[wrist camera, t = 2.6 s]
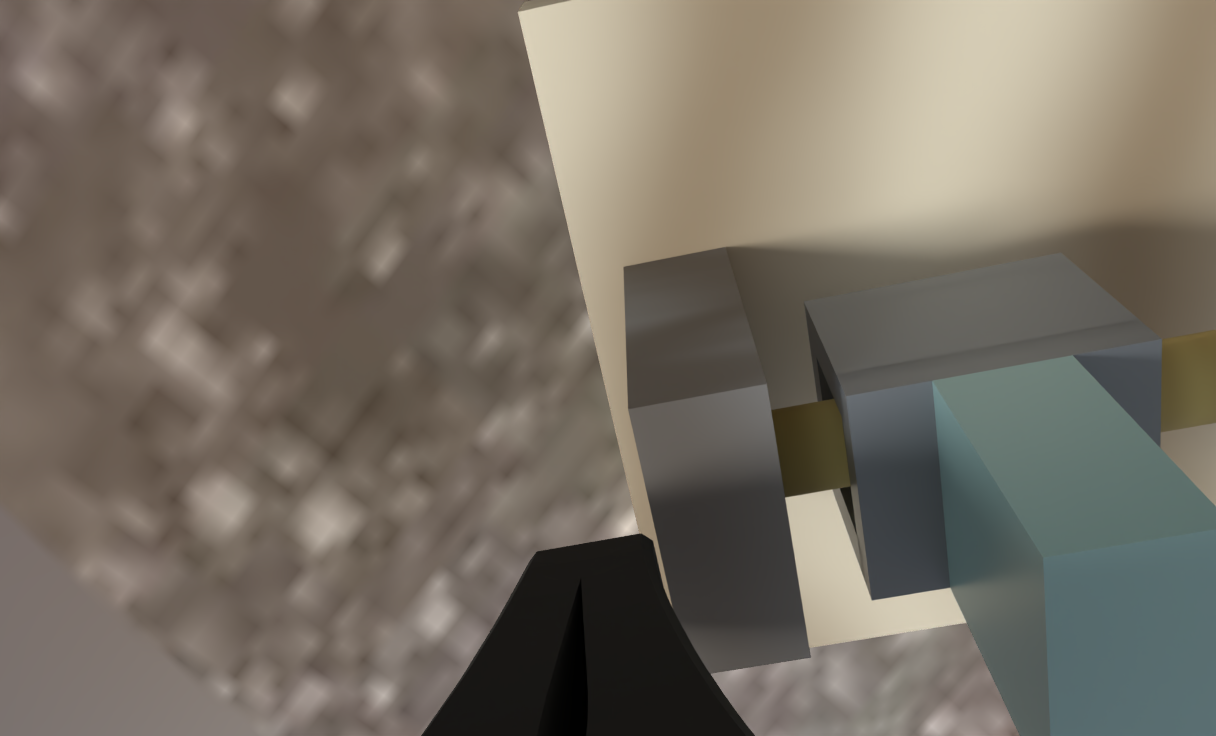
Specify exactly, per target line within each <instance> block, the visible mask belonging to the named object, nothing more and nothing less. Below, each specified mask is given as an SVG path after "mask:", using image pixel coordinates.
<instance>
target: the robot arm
mask: <svg viewBox="0 0 1216 736" xmlns="http://www.w3.org/2000/svg"><path fill="white" fill-rule="evenodd" d="M421 736H755V735H754V734H753V733H752V731H751V730H750V729H749V728H748V726H747V725H746V724H745V723H744V721H743V720H742V719H741V717H740V716H739V715H738V713H737V712H736V711H735V709H734V708H733V706H732V705H731V704H730V702H729V701H728V699H727V698H726V697H725V695H724V694H723V692H722V691H721V689H720V688H719V686H718V685H717V683H716V682H715V680H714V679H713V677H712V676H711V674H710V673H709V671H708V670H707V668H706V667H705V665H704V664H703V662H702V660H701V659H700V657H699V655H698V654H697V652H696V650H695V649H694V647H693V645H692V643H691V641H690V640H689V638H688V636H687V634H686V632H685V630H684V629H683V627H682V625H681V623H680V621H679V619H678V618H677V616H676V614H675V612H674V610H673V608H672V605H671V603H670V601H669V599H668V596H667V594H666V592H665V589H664V586H663V582H662V578H661V573H660V569H659V564H658V560H657V556H656V551H655V547H654V543H653V540H651V539H650V538H648V537H646V536H645V535H643V534H642V533H641V534H635V535H630V536H624V537H618V538H612V539H607V540H601V541H595V542H589V543H584V544H578V545H572V546H566V547H561V548H555V549H549V550H544V551H538V552H536V553H535V555H534V556H533V558H532V559H531V560H530V562H529V563H528V565H527V567H526V569H525V571H524V572H523V574H522V576H521V578H520V580H519V582H518V583H517V585H516V587H515V589H514V591H513V593H512V594H511V596H510V598H509V600H508V602H507V603H506V605H505V607H504V609H503V610H502V612H501V614H500V616H499V617H498V619H497V621H496V622H495V624H494V626H493V628H492V629H491V631H490V633H489V634H488V636H487V638H486V639H485V641H484V642H483V644H482V646H481V647H480V649H479V651H478V652H477V654H476V655H475V657H474V659H473V660H472V662H471V663H470V665H469V667H468V668H467V670H466V672H465V673H464V675H463V676H462V678H461V679H460V681H459V682H458V684H457V685H456V687H455V688H454V690H453V691H452V693H451V694H450V695H449V697H448V698H447V700H446V701H445V703H444V704H443V705H442V707H441V708H440V710H439V711H438V713H437V714H436V715H435V717H434V718H433V720H432V721H431V723H430V724H429V725H428V727H427V728H426V730H425V731H424V733H423V734H422V735H421Z"/></svg>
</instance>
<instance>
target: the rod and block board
mask: <svg viewBox="0 0 1216 736" xmlns="http://www.w3.org/2000/svg"><path fill="white" fill-rule="evenodd" d="M518 14H519V18H520V23H521V27H522V31H523V36H524V40H525V44H526V48H527V53H528V57H529V61H530V66H531V70H532V74H533V79H534V83H535V87H536V91H537V96H538V100H539V104H540V109H541V113H542V117H543V122H544V126H545V130H546V134H547V139H548V143H549V147H550V152H551V156H552V160H553V164H554V169H555V173H556V177H557V182H558V186H559V190H560V195H561V199H562V203H563V207H564V212H565V216H566V220H567V225H568V229H569V233H570V238H571V242H572V246H573V250H574V255H575V259H576V263H577V268H578V272H579V276H580V281H581V285H582V289H583V293H584V298H585V302H586V306H587V311H588V315H589V319H590V323H591V328H592V332H593V336H594V341H595V345H596V349H597V354H598V358H599V362H600V366H601V371H602V375H603V379H604V384H605V388H606V392H607V397H608V401H609V405H610V409H611V414H612V418H613V422H614V427H615V431H616V435H617V439H618V444H619V448H620V452H621V457H622V461H623V465H624V470H625V474H626V478H627V482H628V487H629V491H630V495H631V500H632V504H633V508H634V513H635V517H636V521H637V525H638V530H639V534H641V533H642V534H643V535H645V536H646V537H648V538H650V539H651V540H653V543H654V547H655V551H656V556H657V560H658V564H659V569H660V573H661V578H662V582H663V586H664V589H665V592H666V594H667V596H668V599H669V601H670V603H671V605H672V608H673V610H674V612H675V614H676V616H677V618H678V619H679V621H680V623H681V625H682V627H683V629H684V630H685V632H686V634H687V636H688V638H689V640H690V641H691V643H692V645H693V647H694V649H695V650H696V652H697V654H698V655H699V657H700V659H701V660H702V662H703V664H704V665H705V667H706V668H707V670H708V671H709V673H710V674H711V673H717V672H723V671H730V670H736V669H742V668H748V667H755V666H761V665H767V664H773V663H780V662H786V661H792V660H798V659H805V658H811V655H810V649H809V648H811V647H818V646H824V645H830V644H836V643H842V642H849V641H855V640H861V639H867V638H874V637H880V636H886V635H892V634H898V633H905V632H911V631H917V630H923V629H930V628H936V627H942V626H948V625H954V624H961V623H967V622H966V620H965V618H964V616H963V614H962V612H961V610H960V607H959V605H958V603H957V601H956V599H955V597H954V595H953V593H952V591H951V588H946V589H940V590H933V591H927V592H921V593H915V594H909V595H903V596H897V597H891V598H885V599H878V600H871V597H870V594H869V591H868V589H867V586H866V583H865V580H864V577H863V575H862V572H861V569H860V566H859V563H858V560H857V558H856V555H855V552H854V549H853V546H852V544H851V541H850V538H849V535H848V532H847V530H846V527H845V524H844V521H843V518H842V516H841V513H840V510H839V507H838V504H837V502H836V499H835V496H834V493H833V490H832V489H838V488H844V487H849V486H851V485H850V477H849V470H848V462H847V454H846V446H845V439H844V431H843V423H842V416H841V414H840V412H839V409H838V407H837V405H836V402H835V400H834V399H829V400H824V401H818V400H817V393H816V386H815V378H814V371H813V364H812V357H811V350H810V342H809V335H808V328H807V321H806V314H805V306H804V301H809V300H814V299H819V298H825V297H830V296H835V295H840V294H846V293H851V292H856V291H861V290H867V289H872V288H877V287H883V286H888V285H893V284H898V283H904V282H909V281H914V280H919V279H925V278H930V277H935V276H941V275H946V274H951V273H956V272H962V271H967V270H972V269H977V268H983V267H988V266H993V265H999V264H1004V263H1009V262H1014V261H1020V260H1025V259H1030V258H1035V257H1041V256H1046V255H1051V254H1057V253H1062V254H1063V255H1064V256H1066V257H1067V258H1068V259H1069V260H1070V261H1071V262H1073V263H1074V264H1075V265H1076V266H1077V267H1078V268H1080V269H1081V270H1082V271H1083V272H1084V273H1085V274H1087V275H1088V276H1089V277H1090V278H1091V279H1092V280H1094V281H1095V282H1096V283H1097V284H1098V285H1100V286H1101V287H1102V288H1103V289H1104V290H1105V291H1107V292H1108V293H1109V294H1110V295H1111V296H1112V297H1114V298H1115V299H1116V300H1117V301H1118V302H1119V303H1121V304H1122V305H1123V306H1124V307H1125V308H1126V309H1128V310H1129V311H1130V312H1131V313H1132V314H1133V315H1135V316H1136V317H1137V318H1138V319H1139V320H1140V321H1142V322H1143V323H1144V324H1145V325H1146V326H1147V327H1149V328H1150V329H1151V330H1152V331H1153V332H1154V333H1156V334H1157V335H1158V336H1159V337H1160V338H1161V339H1162V377H1161V445H1160V448H1161V449H1162V450H1163V451H1164V452H1165V453H1166V454H1167V456H1168V457H1169V458H1170V459H1171V460H1172V461H1173V462H1174V463H1175V464H1176V465H1177V466H1178V467H1179V468H1180V469H1181V470H1182V471H1183V472H1184V473H1185V475H1186V476H1187V477H1188V478H1189V479H1190V480H1191V481H1192V482H1193V483H1194V484H1195V485H1196V486H1197V487H1198V488H1199V489H1200V490H1201V491H1202V492H1203V494H1204V495H1205V496H1206V497H1207V498H1208V499H1209V500H1210V501H1211V502H1212V503H1213V504H1214V505H1215V506H1216V0H531V1H527V2H524V3H523V5H522V6H521V8H520V10H519V11H518Z"/></svg>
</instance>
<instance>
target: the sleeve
mask: <svg viewBox="0 0 1216 736" xmlns="http://www.w3.org/2000/svg"><path fill="white" fill-rule="evenodd" d="M804 306H805V314H806V321H807V328H808V335H809V342H810V350H811V357H812V364H813V371H814V378H815V386H816V393H817V400H818V401H824V400H829V399H834V400H835V402H836V405H837V407H838V409H839V412H840V414H841V416H842V423H843V431H844V439H845V446H846V454H847V462H848V470H849V477H850V485H851V486H849V487H844V488H838V489H832V490H833V493H834V496H835V499H836V502H837V504H838V507H839V510H840V513H841V516H842V518H843V521H844V524H845V527H846V530H847V532H848V535H849V538H850V541H851V544H852V546H853V549H854V552H855V555H856V558H857V560H858V563H859V566H860V569H861V572H862V575H863V577H864V580H865V583H866V586H867V589H868V591H869V594H870V597H871V600H878V599H885V598H891V597H897V596H903V595H909V594H915V593H921V592H927V591H933V590H940V589H946V588H951V591H952V593H953V595H954V597H955V599H956V601H957V603H958V605H959V607H960V610H961V612H962V614H963V616H964V618H965V620H966V622H967V624H968V627H969V629H970V631H971V633H972V635H973V637H974V639H975V641H976V644H977V646H978V648H979V650H980V652H981V654H982V656H983V658H984V661H985V663H986V665H987V667H988V669H989V671H990V673H991V675H992V677H993V680H994V682H995V684H996V686H997V688H998V690H999V692H1000V694H1001V697H1002V699H1003V701H1004V703H1005V705H1006V707H1007V709H1008V711H1009V714H1010V716H1011V718H1012V720H1013V722H1014V724H1015V726H1016V728H1017V731H1018V733H1019V735H1020V736H1216V506H1215V505H1214V504H1213V503H1212V502H1211V501H1210V500H1209V499H1208V498H1207V497H1206V496H1205V495H1204V494H1203V492H1202V491H1201V490H1200V489H1199V488H1198V487H1197V486H1196V485H1195V484H1194V483H1193V482H1192V481H1191V480H1190V479H1189V478H1188V477H1187V476H1186V475H1185V473H1184V472H1183V471H1182V470H1181V469H1180V468H1179V467H1178V466H1177V465H1176V464H1175V463H1174V462H1173V461H1172V460H1171V459H1170V458H1169V457H1168V456H1167V454H1166V453H1165V452H1164V451H1163V450H1162V449H1161V448H1160V445H1161V377H1162V339H1161V338H1160V337H1159V336H1158V335H1157V334H1156V333H1154V332H1153V331H1152V330H1151V329H1150V328H1149V327H1147V326H1146V325H1145V324H1144V323H1143V322H1142V321H1140V320H1139V319H1138V318H1137V317H1136V316H1135V315H1133V314H1132V313H1131V312H1130V311H1129V310H1128V309H1126V308H1125V307H1124V306H1123V305H1122V304H1121V303H1119V302H1118V301H1117V300H1116V299H1115V298H1114V297H1112V296H1111V295H1110V294H1109V293H1108V292H1107V291H1105V290H1104V289H1103V288H1102V287H1101V286H1100V285H1098V284H1097V283H1096V282H1095V281H1094V280H1092V279H1091V278H1090V277H1089V276H1088V275H1087V274H1085V273H1084V272H1083V271H1082V270H1081V269H1080V268H1078V267H1077V266H1076V265H1075V264H1074V263H1073V262H1071V261H1070V260H1069V259H1068V258H1067V257H1066V256H1064V255H1063V254H1062V253H1057V254H1051V255H1046V256H1041V257H1035V258H1030V259H1025V260H1020V261H1014V262H1009V263H1004V264H999V265H993V266H988V267H983V268H977V269H972V270H967V271H962V272H956V273H951V274H946V275H941V276H935V277H930V278H925V279H919V280H914V281H909V282H904V283H898V284H893V285H888V286H883V287H877V288H872V289H867V290H861V291H856V292H851V293H846V294H840V295H835V296H830V297H825V298H819V299H814V300H809V301H804Z"/></svg>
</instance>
